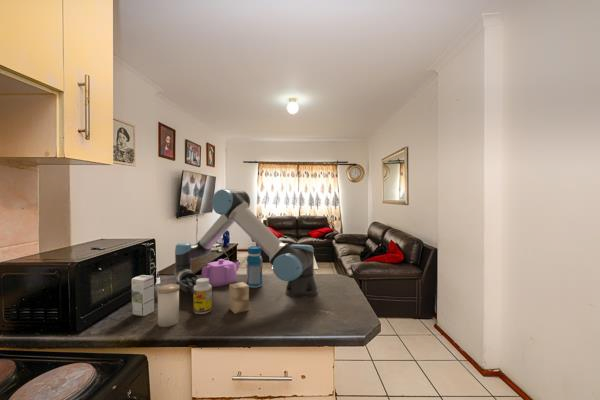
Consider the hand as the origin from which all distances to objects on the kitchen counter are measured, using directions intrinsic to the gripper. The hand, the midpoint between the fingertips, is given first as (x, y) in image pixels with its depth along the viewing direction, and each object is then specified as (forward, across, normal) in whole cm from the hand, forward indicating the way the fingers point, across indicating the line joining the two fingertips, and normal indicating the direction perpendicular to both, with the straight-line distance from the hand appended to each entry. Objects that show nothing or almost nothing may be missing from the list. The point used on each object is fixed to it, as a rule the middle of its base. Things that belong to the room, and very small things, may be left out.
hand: (199, 292), depth 114 cm
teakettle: (-30, -19, -7) cm, 36 cm away
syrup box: (-7, +20, -6) cm, 22 cm away
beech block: (+10, -13, -6) cm, 18 cm away
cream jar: (+7, +13, -6) cm, 16 cm away
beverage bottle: (-14, -31, -6) cm, 35 cm away
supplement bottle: (+4, 0, -7) cm, 8 cm away
